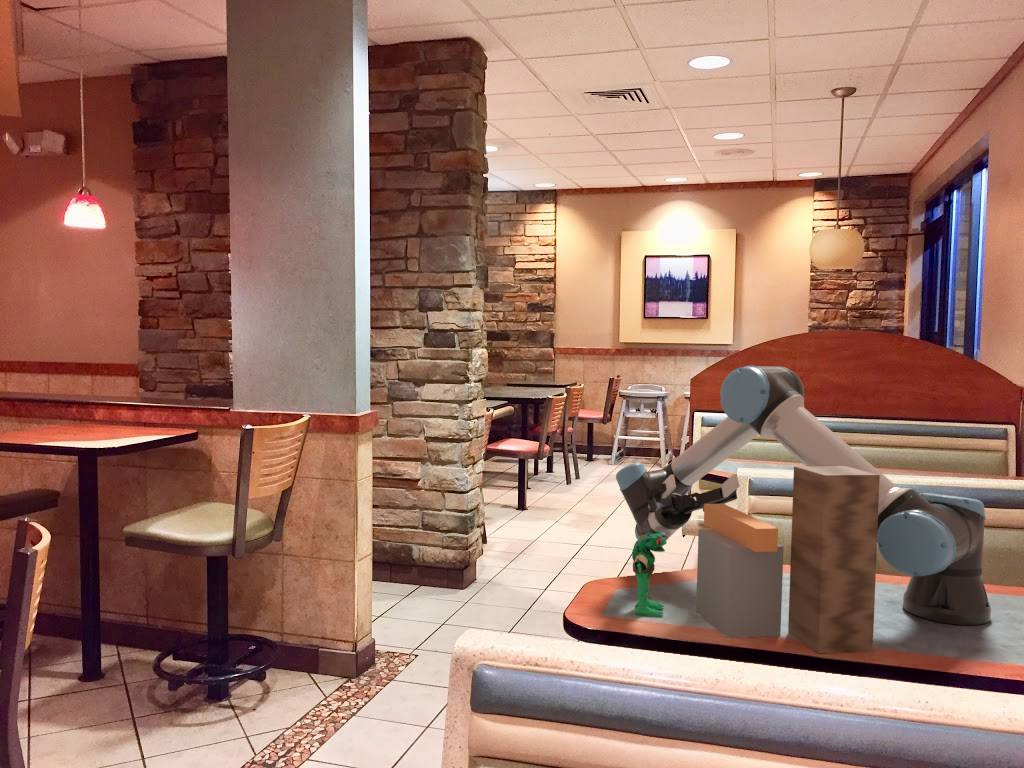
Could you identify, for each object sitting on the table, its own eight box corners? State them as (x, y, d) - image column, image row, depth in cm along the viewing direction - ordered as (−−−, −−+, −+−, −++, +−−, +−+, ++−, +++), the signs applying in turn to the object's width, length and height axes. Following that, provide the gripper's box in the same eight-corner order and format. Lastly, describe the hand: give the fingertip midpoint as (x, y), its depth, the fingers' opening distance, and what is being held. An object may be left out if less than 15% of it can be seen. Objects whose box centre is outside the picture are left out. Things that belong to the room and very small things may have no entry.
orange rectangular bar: (722, 523, 163) (723, 503, 162) (777, 551, 141) (778, 528, 141) (703, 524, 162) (704, 504, 162) (755, 552, 140) (756, 528, 140)
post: (839, 630, 149) (845, 466, 147) (872, 651, 139) (879, 474, 137) (788, 633, 147) (793, 466, 145) (818, 653, 137) (824, 475, 136)
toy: (663, 635, 145) (665, 550, 144) (626, 631, 146) (628, 548, 145) (665, 592, 170) (667, 520, 169) (634, 590, 171) (636, 518, 171)
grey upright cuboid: (744, 610, 159) (747, 528, 159) (780, 635, 146) (783, 546, 145) (696, 612, 158) (698, 529, 157) (727, 637, 144) (730, 547, 143)
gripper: (725, 529, 185) (766, 497, 167) (618, 531, 181) (649, 499, 162) (718, 497, 189) (758, 462, 170) (614, 498, 184) (643, 463, 165)
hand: (705, 480), depth 166 cm, fingers open, 13 cm apart
